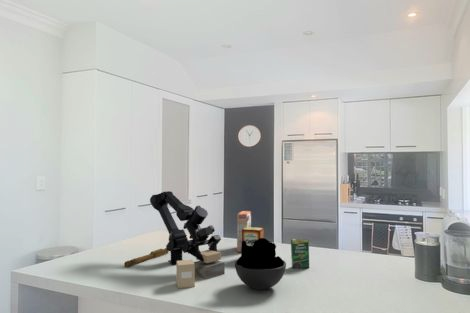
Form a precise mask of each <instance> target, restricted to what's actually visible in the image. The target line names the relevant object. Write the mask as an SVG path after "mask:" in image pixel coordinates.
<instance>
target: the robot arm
mask: <svg viewBox="0 0 470 313" xmlns="http://www.w3.org/2000/svg"><path fill="white" fill-rule="evenodd" d="M149 202H150V204H151V206H152V207H153V209H155V210H156V211H157V212H158V213H159V215H160V217H161V219H162V221H163V223H164V226H165V228H166V230H167V232H168V242H167V244H166V245H165V248H166V249H167V251H169V252H170V259H169V260H167V262H168V263H170V265H177V261H181V260H183V254H186V253H187V254H189V255H191V256H193V257H194V258H195V259H196V258H197V259H199V260H198V261H202V262H203V261H204V259H203V256H202V254H201V251H200V246H205V245H207V246H208V249H207V250H213V251H216V252H218V246H217V245H218V244H219V243H220V241H221V240H222V238H221V236H220V235H219V234H216V235H215V234H214V232H215V231H216V230H215V227H214V226H213V224H210V225H209V226H206V227H203V228H201V226H200V225H202V223H203V222H204V221H205V220H206V218H207V217H208V216H209V213H208V210H207V209H205V208H204V207H202V206H201V205H196V206H195V207H194V208H193V207H192V206H189V205H186V204H184V203H183V202H182V201H180V199H179V198H178V197H176V196H175V195H174V193H173V191H163V192H160V193H157V194H152V195H151V196H150V199H149ZM168 206H170V207H171V208H172V209H173V210H174V211H175V212H176V213H175V214H176V217H177V218H178V220H179V221H181V222H185V221H186V222H185V223H184V224H183V228H181V229H179V227H178V225H177V223H176V221H175V219H174V217H173V215H172V213H171V211H170V209H169V207H168ZM185 230H187V232H188V234H189V239H190V240H189V239H188V237H187V236H188V235H187V234H186V232H185ZM213 234H214V235H213ZM210 235H211V236H210ZM209 237H210V238H209ZM208 238H209V239H208ZM197 259H196V260H197Z"/></svg>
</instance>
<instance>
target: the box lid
mask: <svg viewBox="0 0 470 313" xmlns="http://www.w3.org/2000/svg"><path fill="white" fill-rule="evenodd" d="M200 252H201V254H202V256H203V259H204V261H203V262H206V263H209V262H213V261H217V260H218V261H221V259H222V254H221V252H219V251H217V252H216V251H213V250H209V249H207V250H202V251H200ZM195 259H196V260H197V261H200V260H199V259H197V258H196V257H195Z"/></svg>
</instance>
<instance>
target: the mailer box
mask: <svg viewBox="0 0 470 313" xmlns="http://www.w3.org/2000/svg"><path fill="white" fill-rule="evenodd" d="M194 262H195V261H194V260H193V259H185V260H183V259H182V260H181V261H177V264H176V286H177V288H178V289H185V288H186V289H189V288H194V287H195V280H196V279H195V276H196V275H195V264H194Z"/></svg>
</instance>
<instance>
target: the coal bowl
mask: <svg viewBox="0 0 470 313" xmlns="http://www.w3.org/2000/svg"><path fill="white" fill-rule="evenodd" d="M276 249H277V244H276V243H274V242H271V241H270V240H268V239H266V238H265V237H264V238H260V239H258V240H257V241H254V244H253V246H248V245H246V242H245V241H244V240H243V241H242V247H241V252H240V254H241V255H240V256H239V257H238V258H237V259H236V260H235V261H234V269H235V272H236V274H237V277H238V278H239V280H240V281H241V282H242V283H243V284H244V285H246V286H247V287H249V288H251V289H254V290H259V291H260V290H262V291H263V290H267V289H270V288H273V287H275V286H276V285H277V284H278V283H279V282H280V281H281V280H282V279H283V276H284V275H285V272H286V268H287V262H286V261H285V260H283V259H282V257H280V256H276V255H277V253H276Z"/></svg>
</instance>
